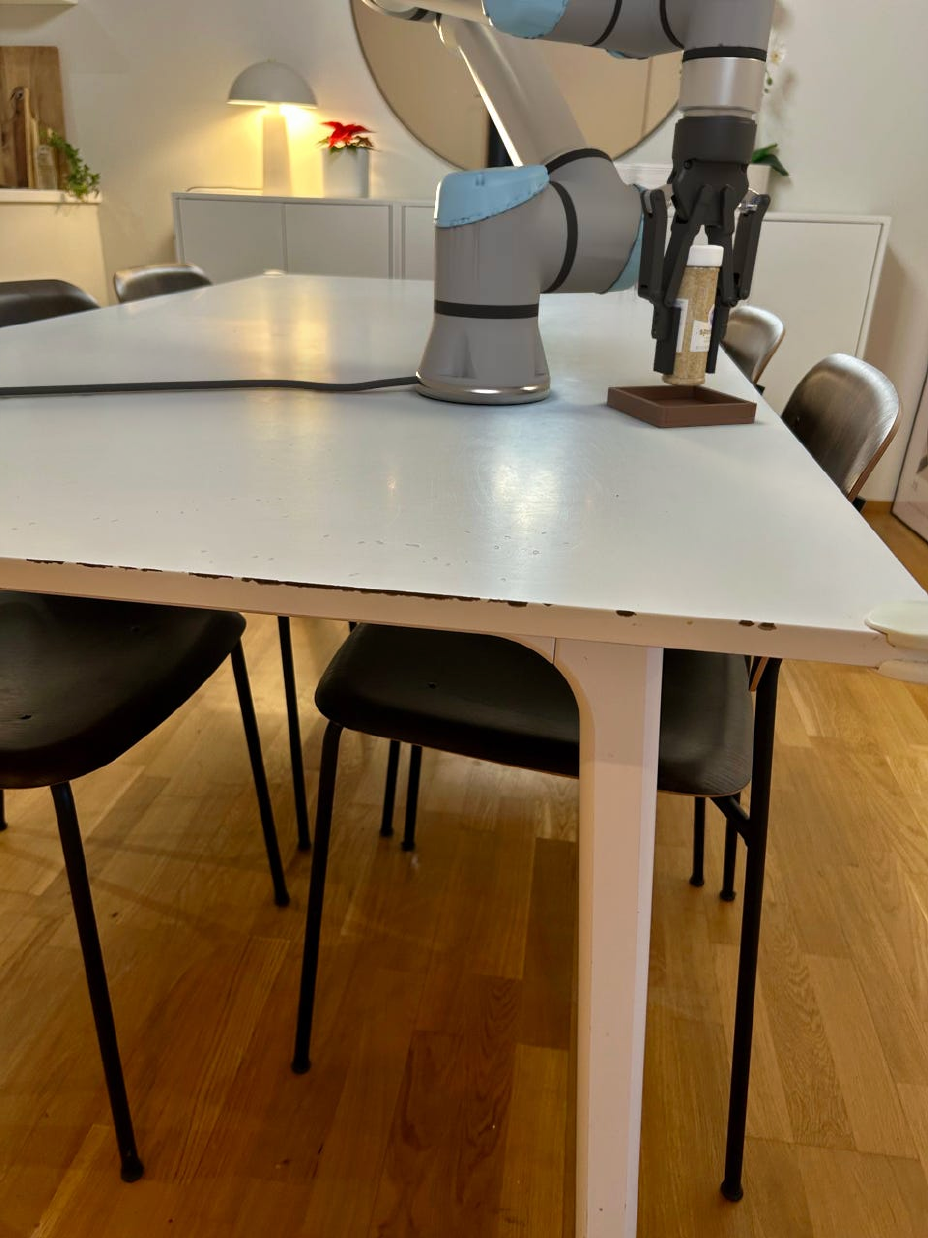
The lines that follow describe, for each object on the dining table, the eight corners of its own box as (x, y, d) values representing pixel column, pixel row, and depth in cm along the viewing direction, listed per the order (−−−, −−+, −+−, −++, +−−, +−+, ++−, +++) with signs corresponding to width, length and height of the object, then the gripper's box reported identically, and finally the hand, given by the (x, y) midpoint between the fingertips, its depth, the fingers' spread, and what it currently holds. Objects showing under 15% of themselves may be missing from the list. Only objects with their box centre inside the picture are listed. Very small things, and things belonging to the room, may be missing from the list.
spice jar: (707, 388, 92) (728, 245, 87) (662, 385, 93) (680, 244, 87) (701, 380, 96) (720, 244, 91) (658, 378, 97) (674, 242, 91)
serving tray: (659, 427, 89) (662, 407, 89) (606, 405, 99) (608, 386, 98) (754, 422, 93) (757, 403, 92) (693, 401, 103) (696, 383, 102)
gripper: (768, 125, 90) (732, 364, 100) (615, 113, 85) (592, 368, 94) (819, 119, 84) (775, 375, 94) (657, 107, 78) (628, 380, 88)
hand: (683, 371), depth 94 cm, fingers closed on spice jar, 4 cm apart
